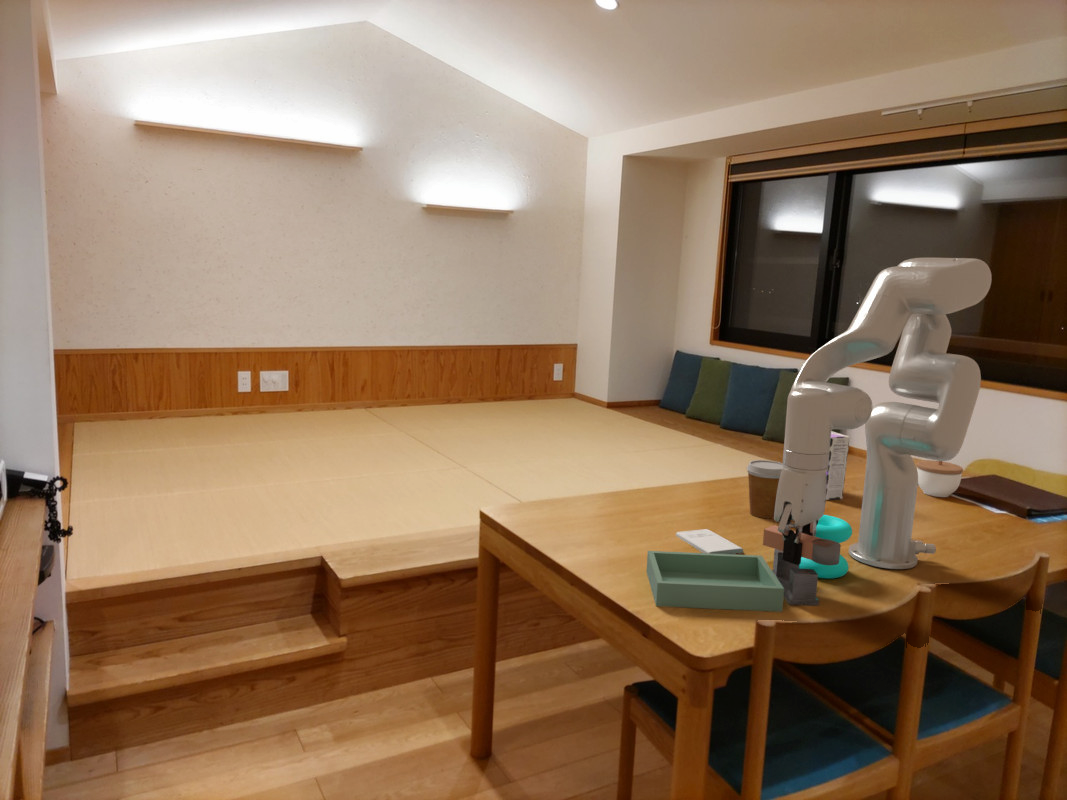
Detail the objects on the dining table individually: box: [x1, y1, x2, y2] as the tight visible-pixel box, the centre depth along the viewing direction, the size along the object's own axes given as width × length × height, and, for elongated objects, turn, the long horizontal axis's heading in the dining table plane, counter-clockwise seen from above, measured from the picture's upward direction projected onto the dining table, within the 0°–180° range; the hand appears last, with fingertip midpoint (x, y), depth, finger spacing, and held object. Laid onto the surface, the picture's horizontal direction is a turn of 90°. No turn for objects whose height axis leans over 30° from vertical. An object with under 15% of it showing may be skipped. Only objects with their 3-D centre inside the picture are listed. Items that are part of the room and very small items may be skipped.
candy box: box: [826, 430, 851, 501], centre depth 202 cm, size 14×6×16 cm, turn 17°
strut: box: [762, 524, 841, 565], centre depth 138 cm, size 13×5×3 cm, turn 43°
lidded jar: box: [916, 459, 964, 498], centre depth 204 cm, size 11×11×9 cm
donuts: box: [799, 514, 853, 579], centre depth 148 cm, size 10×10×10 cm
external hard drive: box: [675, 528, 744, 555], centre depth 161 cm, size 2×8×12 cm
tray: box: [646, 550, 784, 613], centre depth 138 cm, size 21×15×4 cm
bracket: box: [771, 549, 820, 607], centre depth 139 cm, size 13×5×6 cm, turn 178°
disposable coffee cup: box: [746, 459, 784, 519], centre depth 182 cm, size 10×10×12 cm
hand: (797, 558), depth 139 cm, fingers closed on strut, 3 cm apart
